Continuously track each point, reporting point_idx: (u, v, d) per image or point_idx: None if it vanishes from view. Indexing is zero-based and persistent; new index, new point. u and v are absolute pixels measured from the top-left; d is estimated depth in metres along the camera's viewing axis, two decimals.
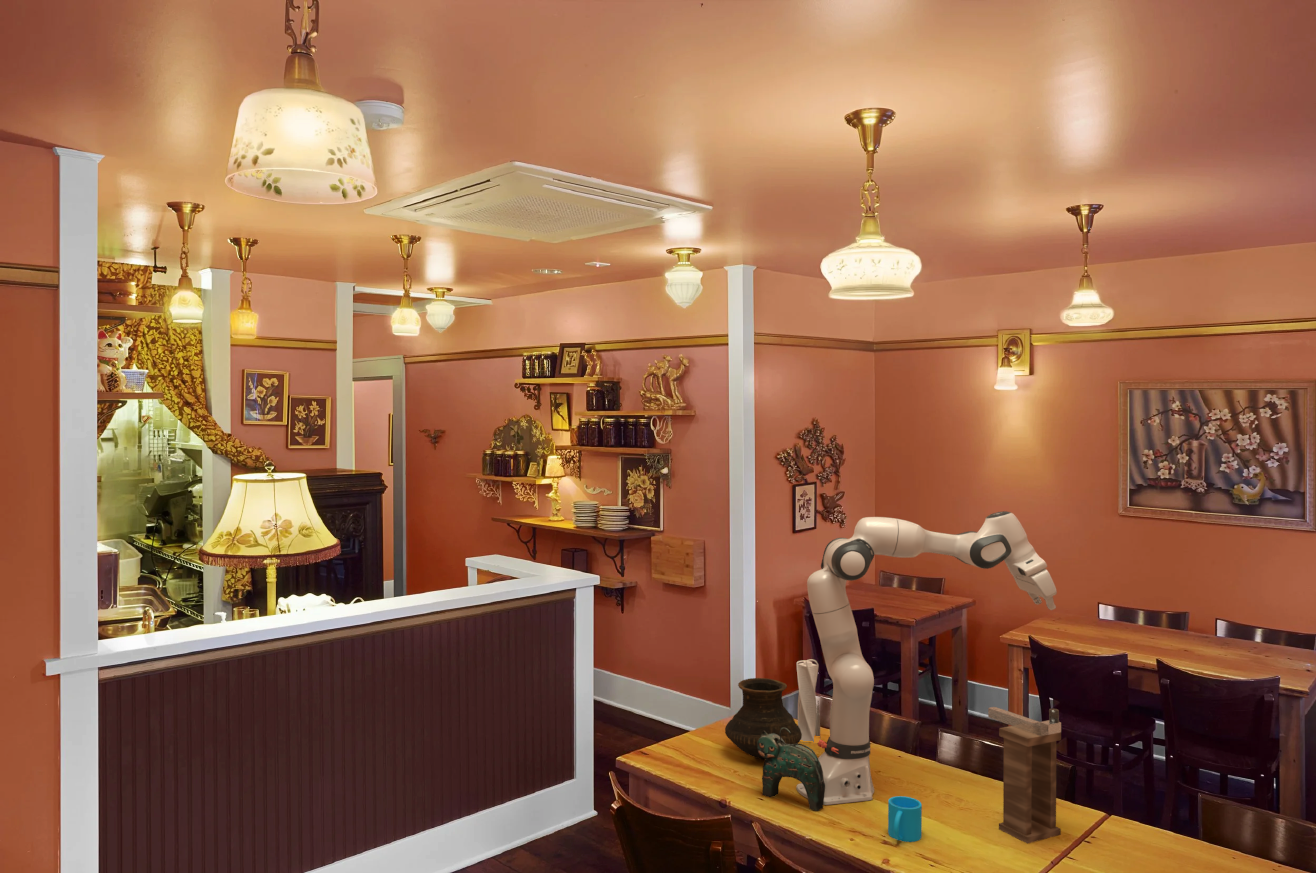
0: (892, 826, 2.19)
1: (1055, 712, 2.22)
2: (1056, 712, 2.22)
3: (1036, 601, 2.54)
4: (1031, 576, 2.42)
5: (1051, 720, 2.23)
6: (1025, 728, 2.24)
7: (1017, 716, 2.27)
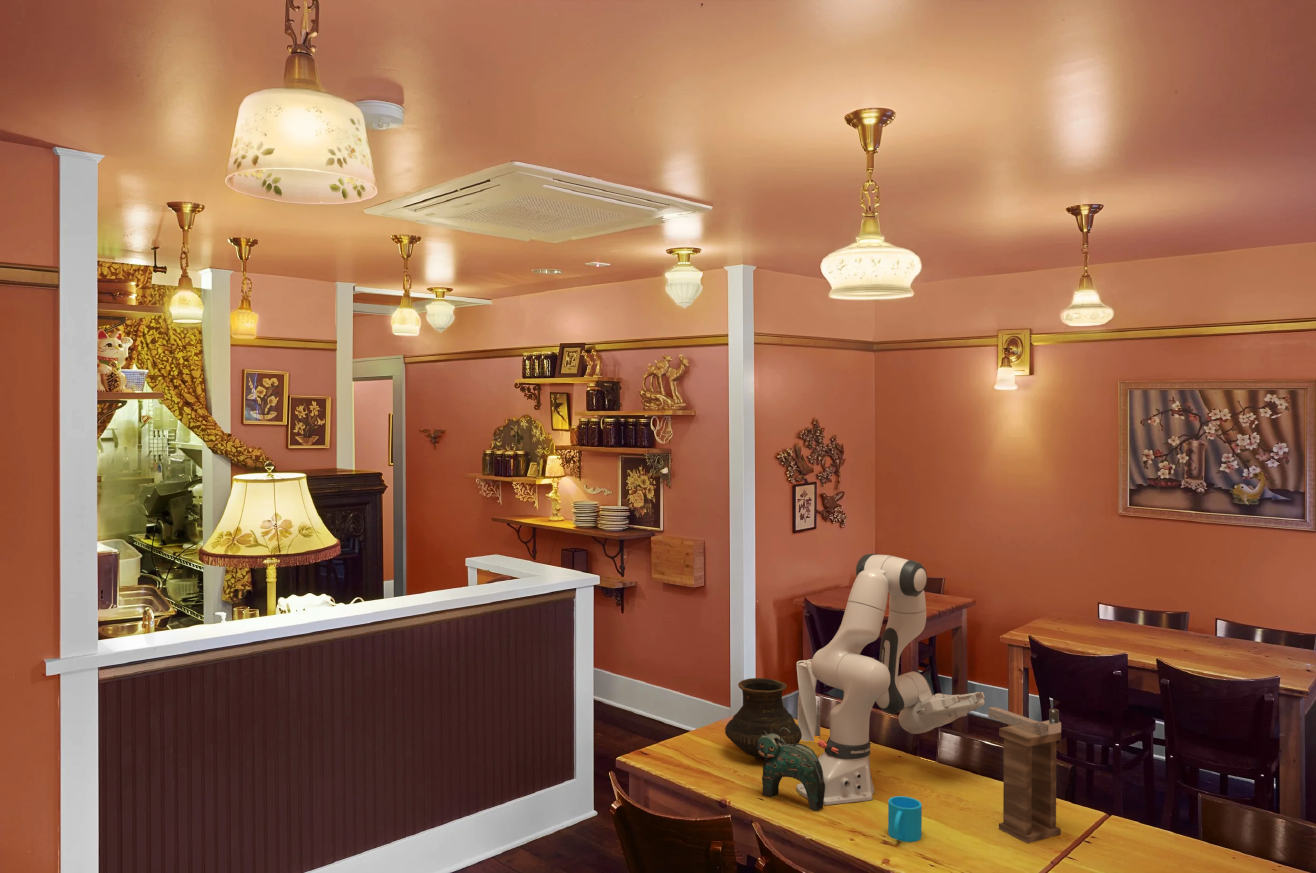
0: (892, 826, 2.19)
1: (1055, 712, 2.22)
2: (1056, 712, 2.22)
3: None
4: None
5: (1051, 720, 2.23)
6: (1025, 728, 2.24)
7: (1017, 716, 2.27)
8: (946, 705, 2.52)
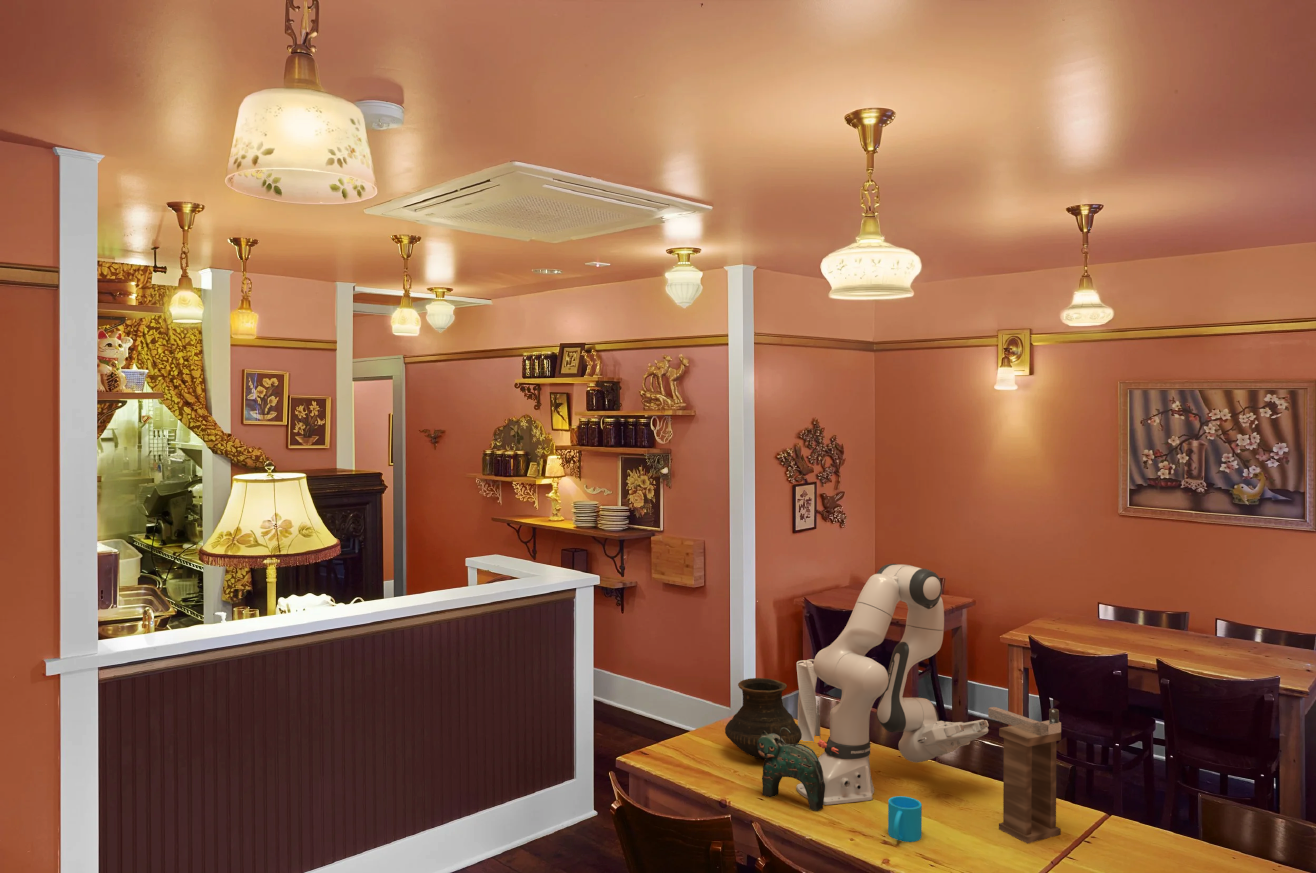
0: (892, 826, 2.19)
1: (1055, 712, 2.22)
2: (1056, 712, 2.22)
3: None
4: None
5: (1051, 720, 2.23)
6: (1025, 728, 2.24)
7: (1017, 716, 2.27)
8: (949, 734, 2.40)
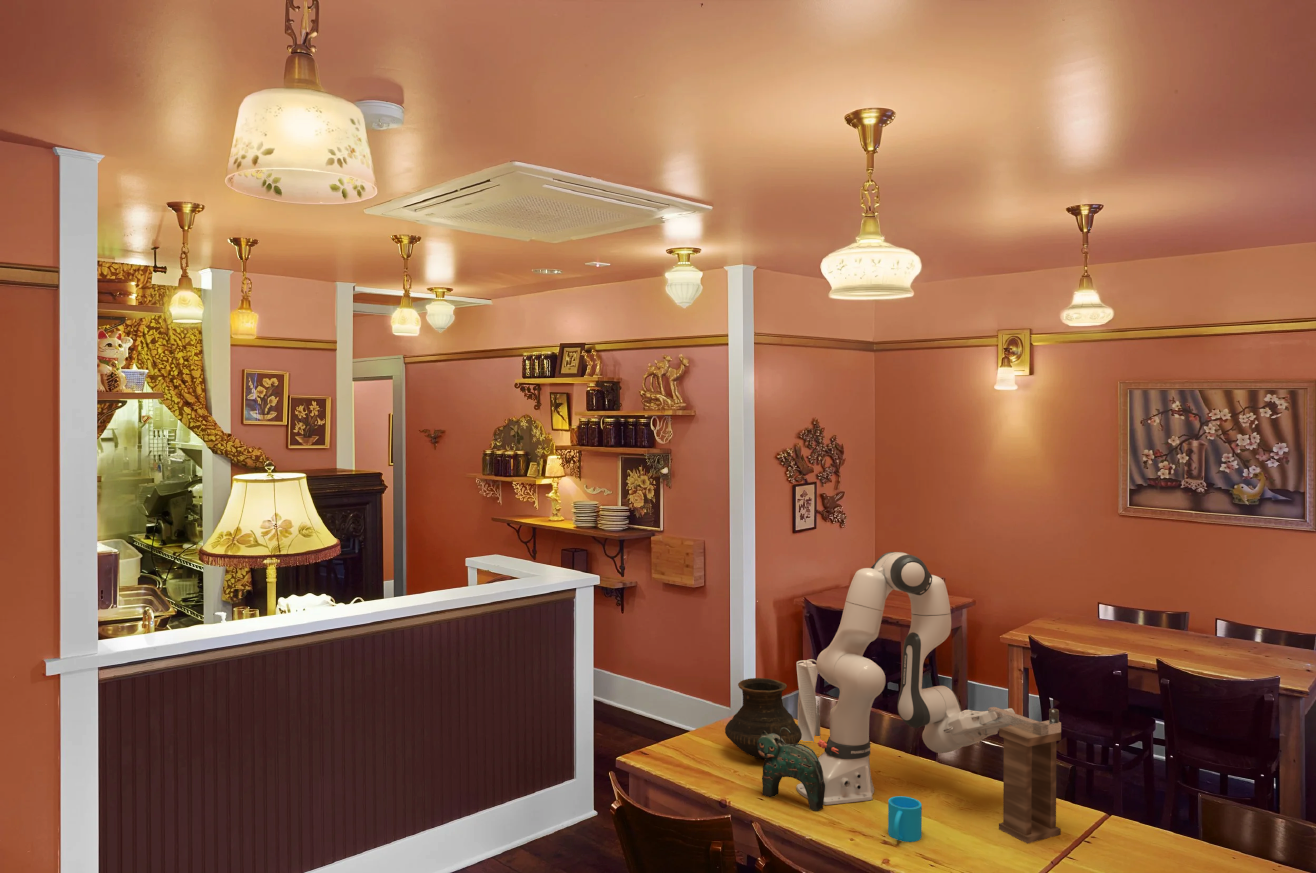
0: (892, 826, 2.19)
1: (1055, 712, 2.22)
2: (1056, 712, 2.22)
3: None
4: None
5: (1051, 720, 2.23)
6: (1025, 728, 2.24)
7: (1017, 716, 2.27)
8: (984, 722, 2.33)
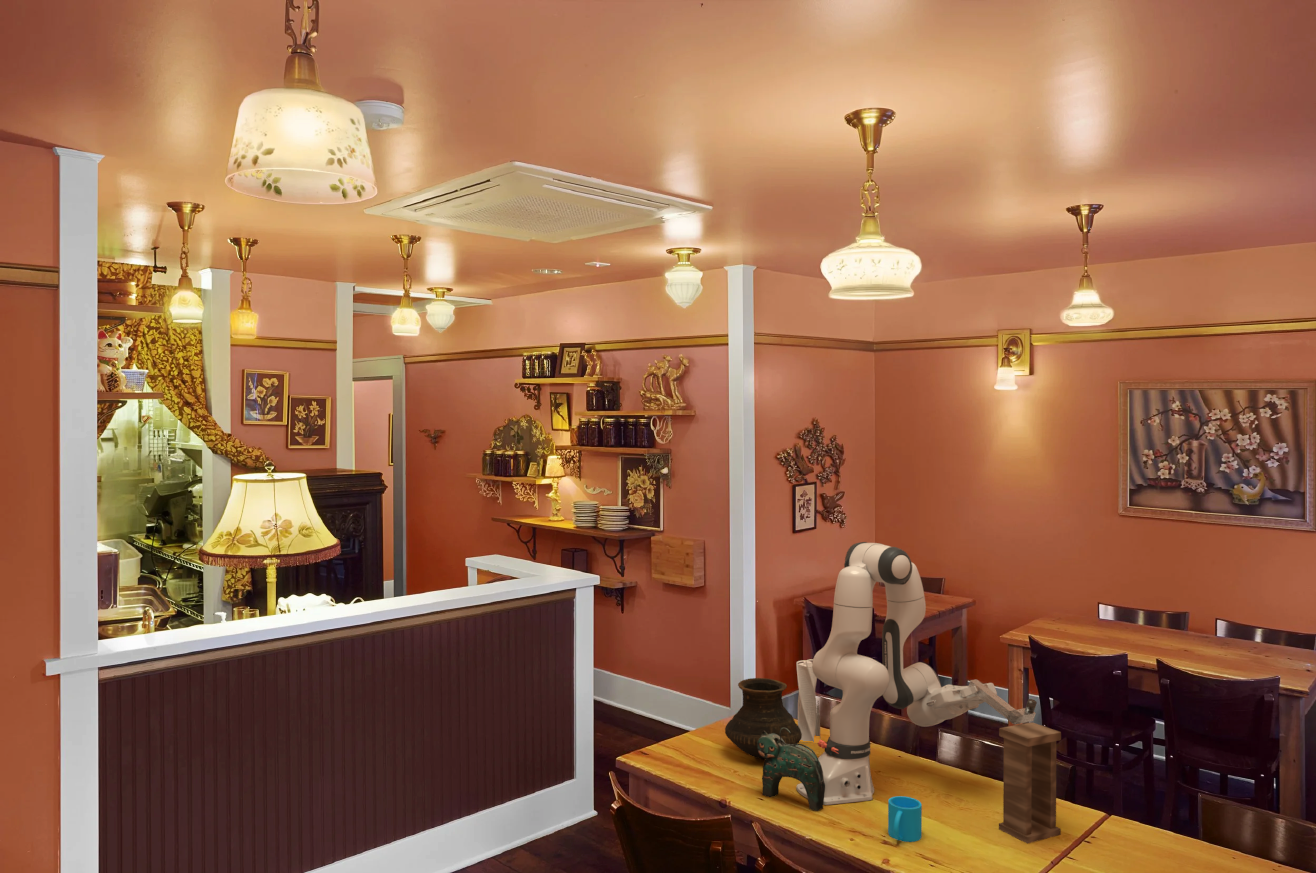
0: (892, 826, 2.19)
1: (1033, 704, 2.32)
2: (1034, 704, 2.32)
3: None
4: None
5: (1027, 710, 2.33)
6: (1000, 712, 2.35)
7: (996, 698, 2.38)
8: (965, 695, 2.43)
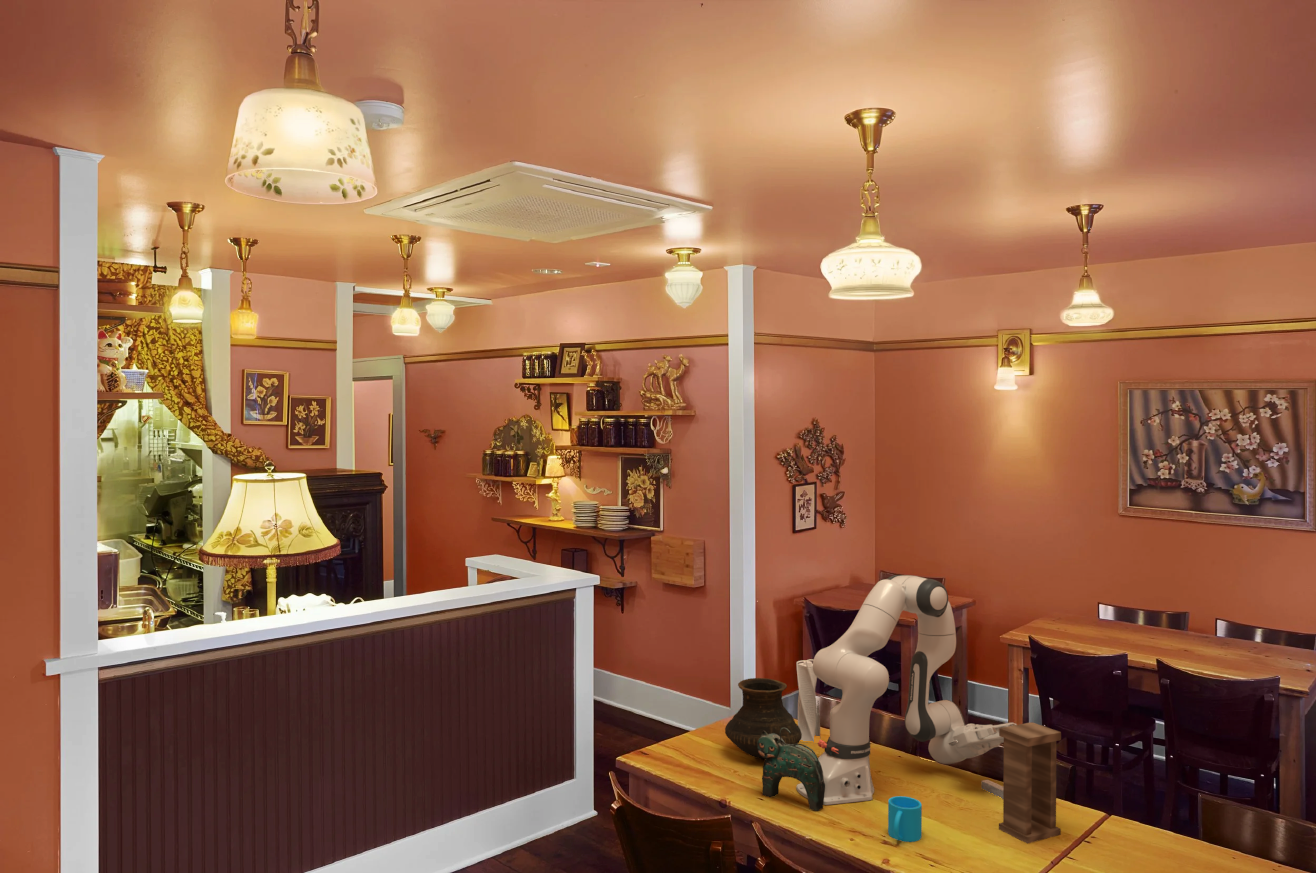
0: (892, 826, 2.19)
1: None
2: None
3: None
4: None
5: None
6: None
7: None
8: (981, 736, 2.46)
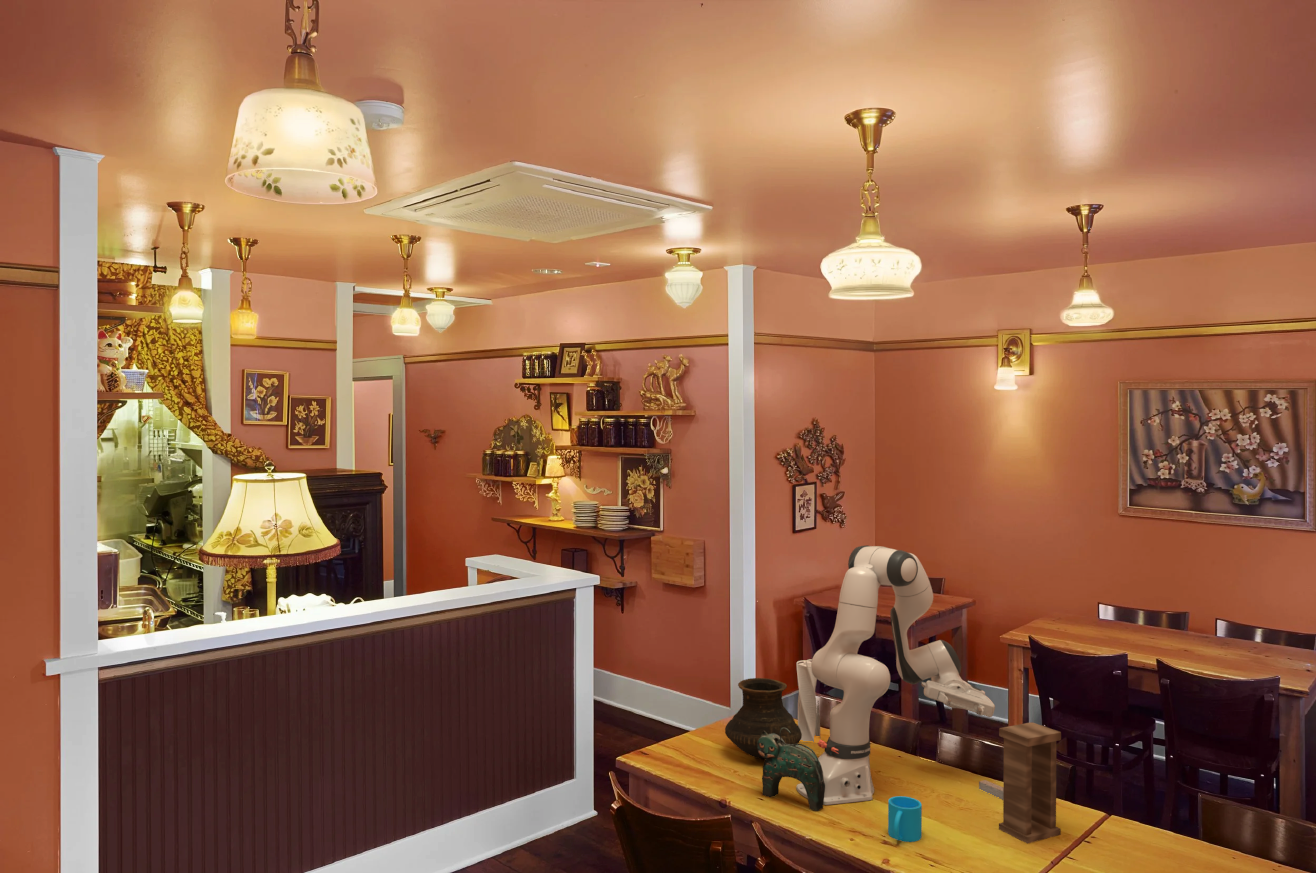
0: (892, 826, 2.19)
1: None
2: None
3: None
4: None
5: None
6: None
7: None
8: (938, 698, 2.55)
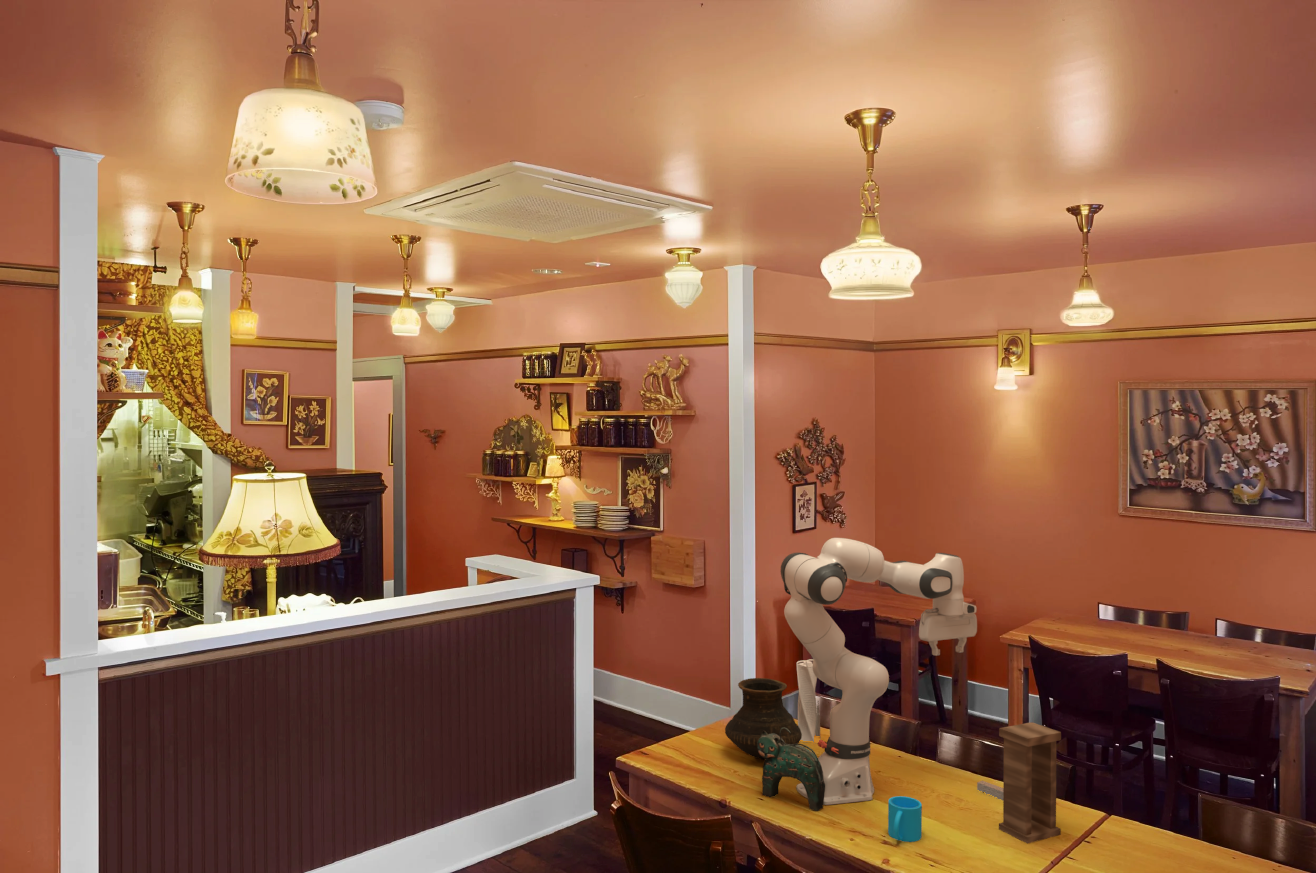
0: (892, 826, 2.19)
1: None
2: None
3: None
4: (973, 613, 2.62)
5: None
6: None
7: None
8: (929, 642, 2.58)
